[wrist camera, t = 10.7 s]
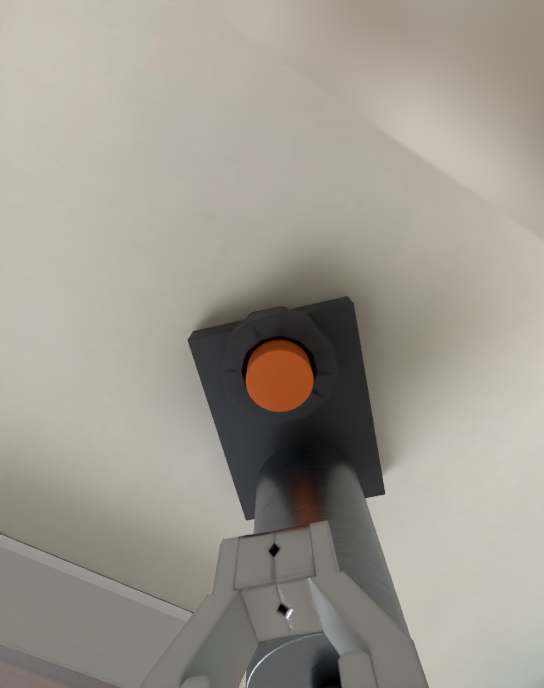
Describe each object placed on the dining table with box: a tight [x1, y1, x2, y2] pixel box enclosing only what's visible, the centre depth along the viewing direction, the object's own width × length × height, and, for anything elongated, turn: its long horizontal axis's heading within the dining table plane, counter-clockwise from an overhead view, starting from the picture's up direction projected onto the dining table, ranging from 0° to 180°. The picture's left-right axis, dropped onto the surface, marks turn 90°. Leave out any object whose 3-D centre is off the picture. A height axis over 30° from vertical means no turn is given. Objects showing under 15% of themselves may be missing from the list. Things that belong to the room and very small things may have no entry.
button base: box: [188, 297, 385, 520], centre depth 24 cm, size 15×10×4 cm
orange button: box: [246, 340, 314, 412], centre depth 21 cm, size 4×4×2 cm
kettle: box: [246, 442, 411, 688], centre depth 18 cm, size 8×8×12 cm
